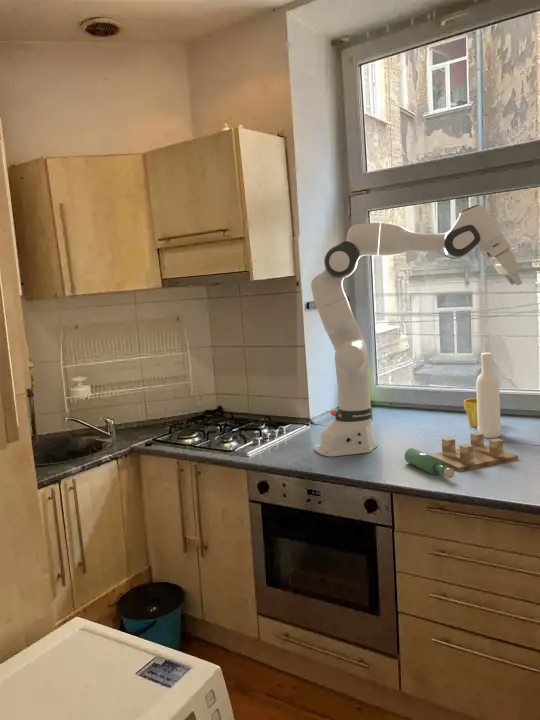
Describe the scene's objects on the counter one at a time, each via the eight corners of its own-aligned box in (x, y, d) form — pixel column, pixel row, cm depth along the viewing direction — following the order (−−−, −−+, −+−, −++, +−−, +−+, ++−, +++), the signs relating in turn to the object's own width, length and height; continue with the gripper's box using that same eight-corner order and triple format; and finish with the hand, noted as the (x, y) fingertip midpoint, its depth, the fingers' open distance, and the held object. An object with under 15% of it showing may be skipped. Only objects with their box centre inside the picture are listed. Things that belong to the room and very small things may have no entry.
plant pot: (470, 421, 245) (469, 397, 244) (496, 423, 239) (496, 398, 238) (460, 427, 238) (459, 402, 236) (487, 429, 231) (486, 404, 230)
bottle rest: (458, 471, 187) (457, 450, 186) (428, 458, 202) (428, 439, 201) (518, 459, 193) (517, 439, 193) (485, 447, 208) (484, 429, 208)
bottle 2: (502, 437, 218) (500, 354, 215) (479, 438, 220) (476, 355, 216) (499, 432, 226) (496, 351, 222) (476, 432, 228) (473, 352, 224)
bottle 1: (405, 464, 198) (404, 449, 197) (418, 461, 199) (417, 446, 199) (443, 483, 178) (442, 466, 177) (458, 480, 179) (457, 463, 179)
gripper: (481, 254, 215) (502, 288, 216) (491, 253, 195) (514, 290, 196) (497, 244, 214) (518, 278, 214) (509, 242, 194) (532, 279, 194)
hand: (516, 284), depth 205 cm, fingers open, 8 cm apart
